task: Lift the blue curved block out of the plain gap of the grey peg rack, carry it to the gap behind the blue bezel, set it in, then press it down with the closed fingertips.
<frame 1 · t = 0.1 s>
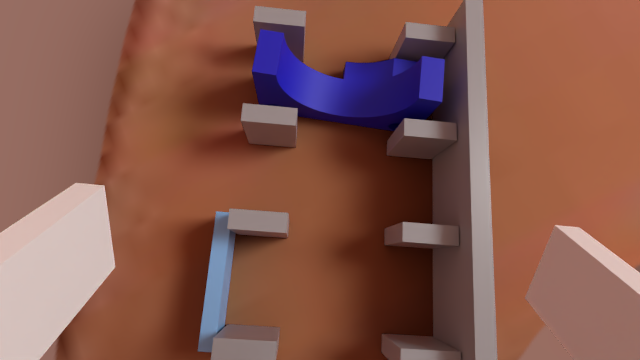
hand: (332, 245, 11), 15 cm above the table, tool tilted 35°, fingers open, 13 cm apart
blue curved block: (339, 98, 29), on the table
grey peg rack: (339, 187, 27), on the table
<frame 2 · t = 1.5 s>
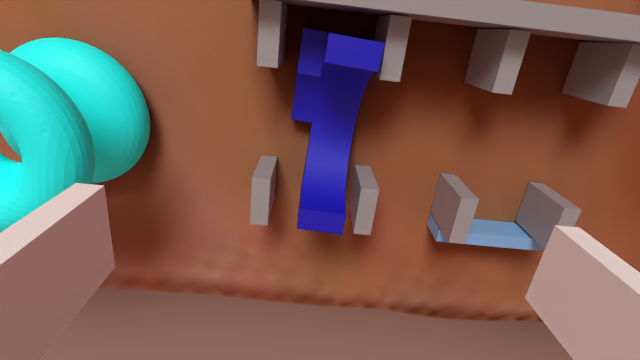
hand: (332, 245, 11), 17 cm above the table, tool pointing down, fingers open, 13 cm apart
blue curved block: (322, 118, 27), on the table
donuts: (88, 110, 27), on the table
grey peg rack: (414, 125, 27), on the table
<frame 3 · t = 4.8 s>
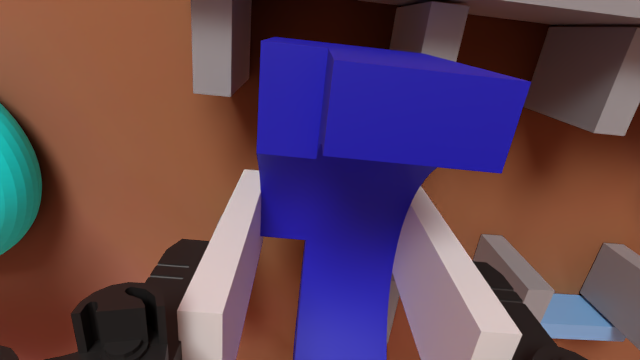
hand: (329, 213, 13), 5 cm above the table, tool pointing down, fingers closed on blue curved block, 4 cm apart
blue curved block: (327, 216, 13), point 5 cm above the table, touching gripper
grey peg rack: (447, 170, 18), on the table
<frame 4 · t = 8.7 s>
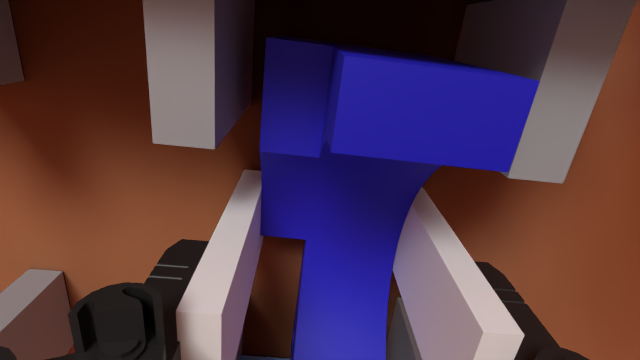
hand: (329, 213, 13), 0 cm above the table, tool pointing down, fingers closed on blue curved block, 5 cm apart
blue curved block: (327, 216, 13), on the table, touching gripper
grey peg rack: (130, 194, 12), on the table
when the fingers open (0 cm above the table, at t = 8.9 s): blue curved block stays where it is, on the table.
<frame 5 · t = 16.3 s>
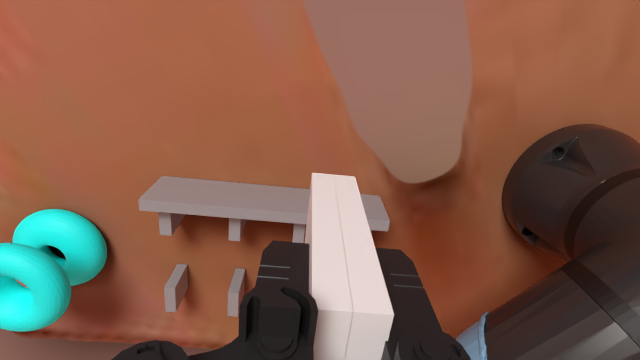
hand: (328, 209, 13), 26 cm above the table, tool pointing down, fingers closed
donuts: (70, 240, 44), on the table
grey peg rack: (269, 247, 45), on the table
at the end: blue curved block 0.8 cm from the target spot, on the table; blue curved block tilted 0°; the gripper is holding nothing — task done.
